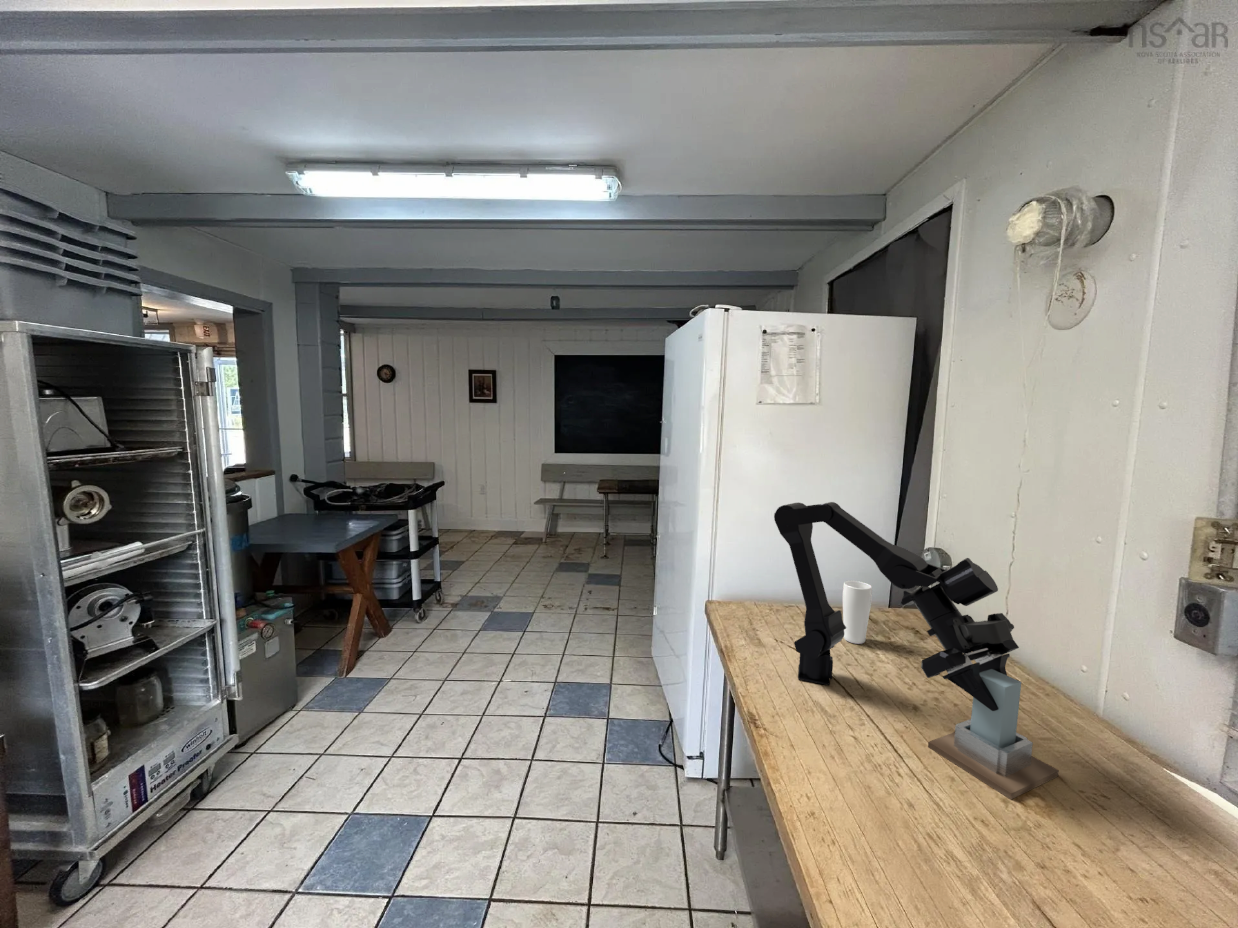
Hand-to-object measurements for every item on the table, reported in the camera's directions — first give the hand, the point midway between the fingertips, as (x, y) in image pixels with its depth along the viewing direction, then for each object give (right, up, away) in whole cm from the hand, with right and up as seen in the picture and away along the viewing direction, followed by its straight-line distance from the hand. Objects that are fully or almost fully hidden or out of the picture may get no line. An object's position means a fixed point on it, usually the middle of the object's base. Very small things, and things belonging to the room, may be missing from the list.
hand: (1004, 707), depth 81 cm
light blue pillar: (-1, -6, +2) cm, 7 cm away
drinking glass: (-2, -6, +48) cm, 48 cm away
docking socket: (-1, -10, +2) cm, 11 cm away
